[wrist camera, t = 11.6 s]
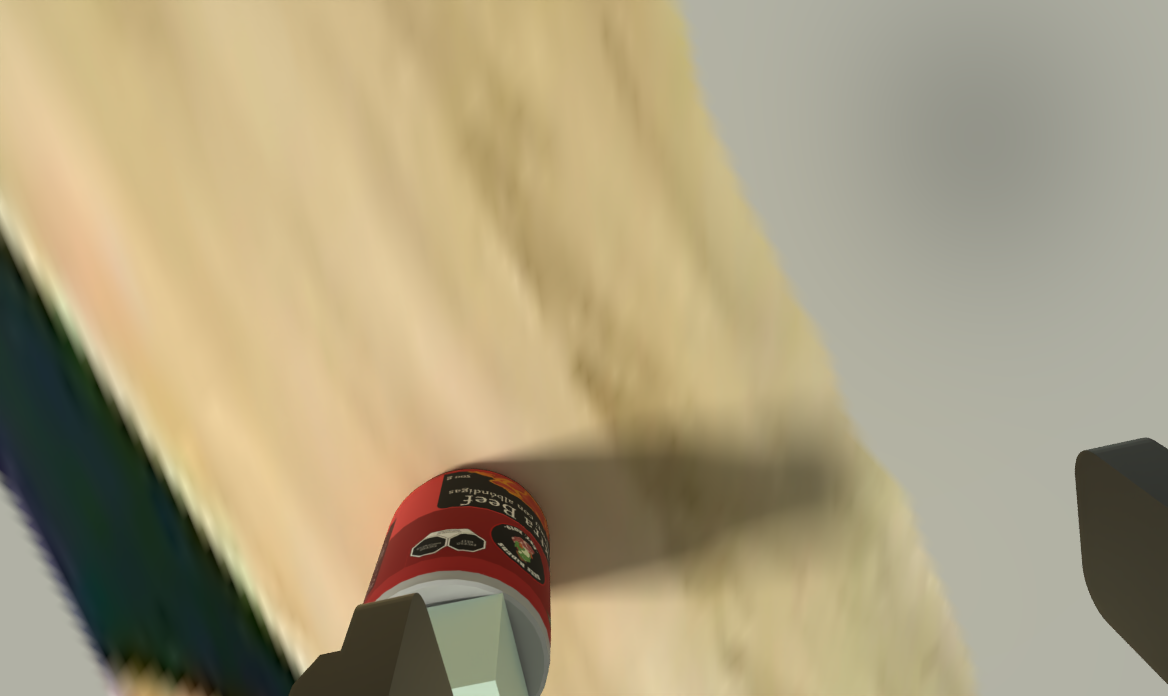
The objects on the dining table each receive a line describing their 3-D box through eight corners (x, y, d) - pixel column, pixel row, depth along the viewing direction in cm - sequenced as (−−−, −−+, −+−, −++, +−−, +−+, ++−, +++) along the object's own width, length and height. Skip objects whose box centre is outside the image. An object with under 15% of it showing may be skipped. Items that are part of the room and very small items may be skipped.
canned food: (581, 534, 50) (591, 665, 39) (467, 633, 51) (447, 785, 40) (471, 430, 48) (450, 538, 37) (357, 536, 49) (305, 669, 39)
